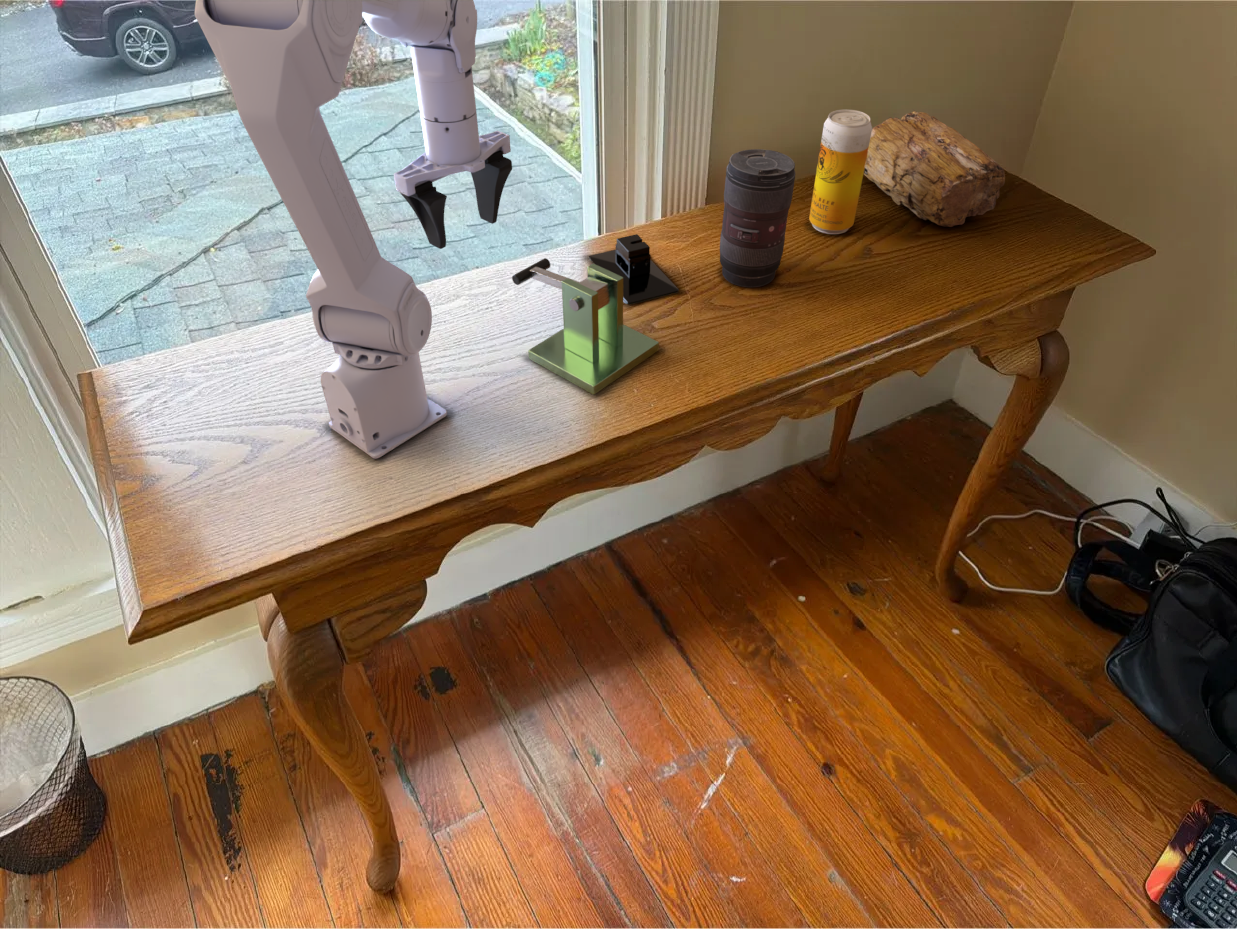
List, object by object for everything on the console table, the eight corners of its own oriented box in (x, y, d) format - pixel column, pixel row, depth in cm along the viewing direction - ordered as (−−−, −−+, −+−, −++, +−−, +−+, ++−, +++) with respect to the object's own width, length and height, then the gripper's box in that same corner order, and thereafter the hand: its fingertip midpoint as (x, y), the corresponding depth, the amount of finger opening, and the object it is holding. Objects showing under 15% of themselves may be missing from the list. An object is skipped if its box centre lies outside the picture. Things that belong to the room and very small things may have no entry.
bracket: (528, 358, 102) (522, 283, 95) (594, 318, 108) (592, 244, 101) (593, 395, 97) (592, 318, 90) (658, 350, 103) (661, 275, 96)
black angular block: (679, 293, 112) (681, 260, 109) (626, 306, 110) (626, 273, 107) (636, 246, 120) (637, 214, 117) (586, 258, 118) (585, 226, 115)
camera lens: (792, 283, 114) (810, 169, 103) (735, 296, 111) (747, 181, 101) (761, 253, 119) (775, 142, 109) (706, 264, 117) (715, 152, 107)
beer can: (800, 218, 126) (816, 111, 116) (839, 212, 127) (859, 105, 117) (820, 239, 122) (839, 129, 112) (860, 232, 123) (882, 123, 113)
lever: (513, 288, 102) (510, 269, 100) (544, 271, 105) (542, 252, 103) (587, 317, 95) (585, 296, 94) (618, 297, 98) (617, 277, 97)
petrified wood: (1006, 219, 125) (1016, 154, 118) (923, 253, 124) (927, 190, 116) (926, 158, 138) (930, 96, 130) (850, 188, 137) (850, 127, 129)
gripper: (418, 144, 87) (437, 269, 96) (526, 101, 95) (534, 220, 104) (372, 125, 90) (395, 247, 99) (480, 85, 98) (492, 201, 107)
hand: (463, 232), depth 102 cm, fingers open, 7 cm apart
